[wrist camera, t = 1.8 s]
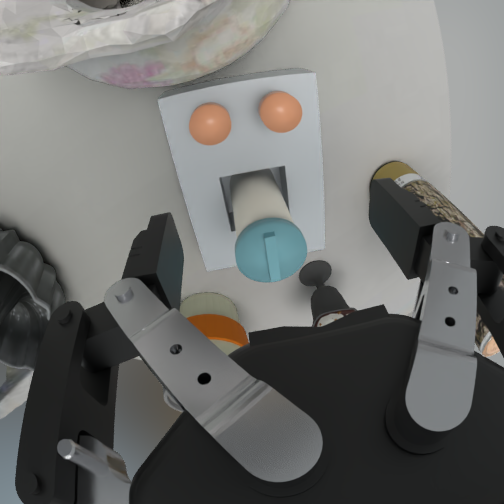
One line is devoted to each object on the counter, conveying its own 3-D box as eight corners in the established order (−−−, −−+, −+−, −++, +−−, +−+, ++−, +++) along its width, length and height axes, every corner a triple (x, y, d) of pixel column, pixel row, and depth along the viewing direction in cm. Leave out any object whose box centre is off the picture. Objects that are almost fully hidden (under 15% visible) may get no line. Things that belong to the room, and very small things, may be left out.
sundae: (293, 258, 43) (322, 347, 31) (339, 253, 44) (379, 336, 32) (292, 292, 47) (316, 377, 36) (333, 286, 48) (366, 366, 36)
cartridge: (222, 165, 33) (229, 237, 22) (273, 155, 33) (307, 223, 22) (231, 209, 36) (242, 293, 25) (279, 200, 36) (310, 279, 25)
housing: (165, 91, 28) (157, 99, 24) (300, 67, 28) (315, 72, 24) (206, 245, 40) (206, 271, 36) (313, 225, 40) (325, 248, 36)
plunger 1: (188, 101, 24) (184, 111, 21) (225, 94, 24) (227, 102, 21) (196, 135, 26) (193, 149, 23) (231, 127, 26) (234, 140, 23)
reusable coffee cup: (161, 284, 43) (152, 376, 32) (249, 281, 45) (264, 372, 33) (173, 337, 51) (170, 417, 39) (246, 335, 53) (257, 414, 41)
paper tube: (374, 213, 40) (476, 366, 20) (362, 172, 36) (489, 330, 16) (415, 193, 39) (529, 329, 19) (406, 151, 35) (548, 285, 15)
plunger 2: (251, 89, 24) (258, 96, 21) (288, 84, 24) (300, 91, 21) (257, 123, 26) (264, 135, 23) (292, 118, 26) (304, 130, 23)
